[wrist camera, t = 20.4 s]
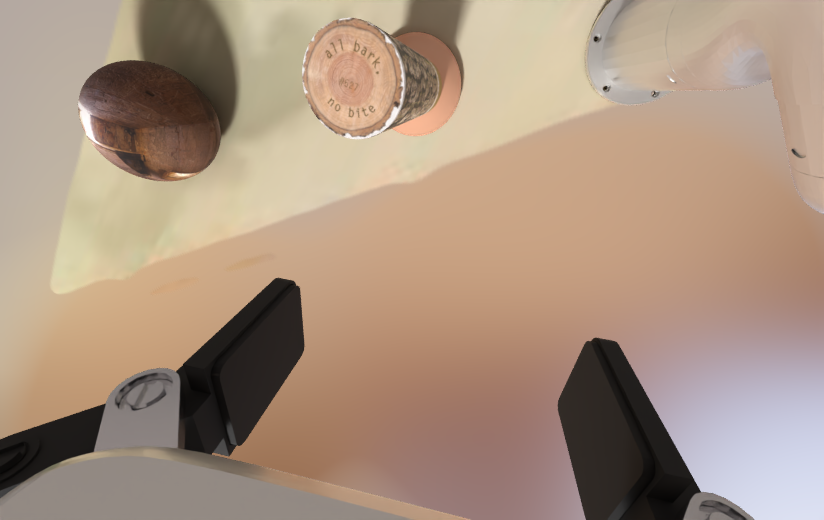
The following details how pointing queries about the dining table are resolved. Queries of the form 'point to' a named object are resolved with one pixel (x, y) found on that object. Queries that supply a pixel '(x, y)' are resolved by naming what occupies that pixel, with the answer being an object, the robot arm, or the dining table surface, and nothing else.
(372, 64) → the paper tube
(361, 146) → the dining table surface
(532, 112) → the dining table surface
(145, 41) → the dining table surface
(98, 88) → the wooden sphere
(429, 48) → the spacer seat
